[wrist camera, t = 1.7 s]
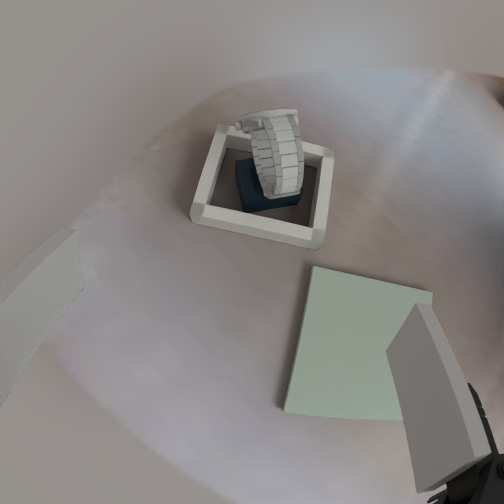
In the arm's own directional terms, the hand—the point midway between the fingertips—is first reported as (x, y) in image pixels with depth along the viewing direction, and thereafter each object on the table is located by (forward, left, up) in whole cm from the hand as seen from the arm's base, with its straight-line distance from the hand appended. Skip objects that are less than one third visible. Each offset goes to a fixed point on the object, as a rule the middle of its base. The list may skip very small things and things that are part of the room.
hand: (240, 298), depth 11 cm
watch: (0, -13, -18) cm, 22 cm away
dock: (0, -13, -18) cm, 22 cm away
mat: (-13, +1, -18) cm, 22 cm away
